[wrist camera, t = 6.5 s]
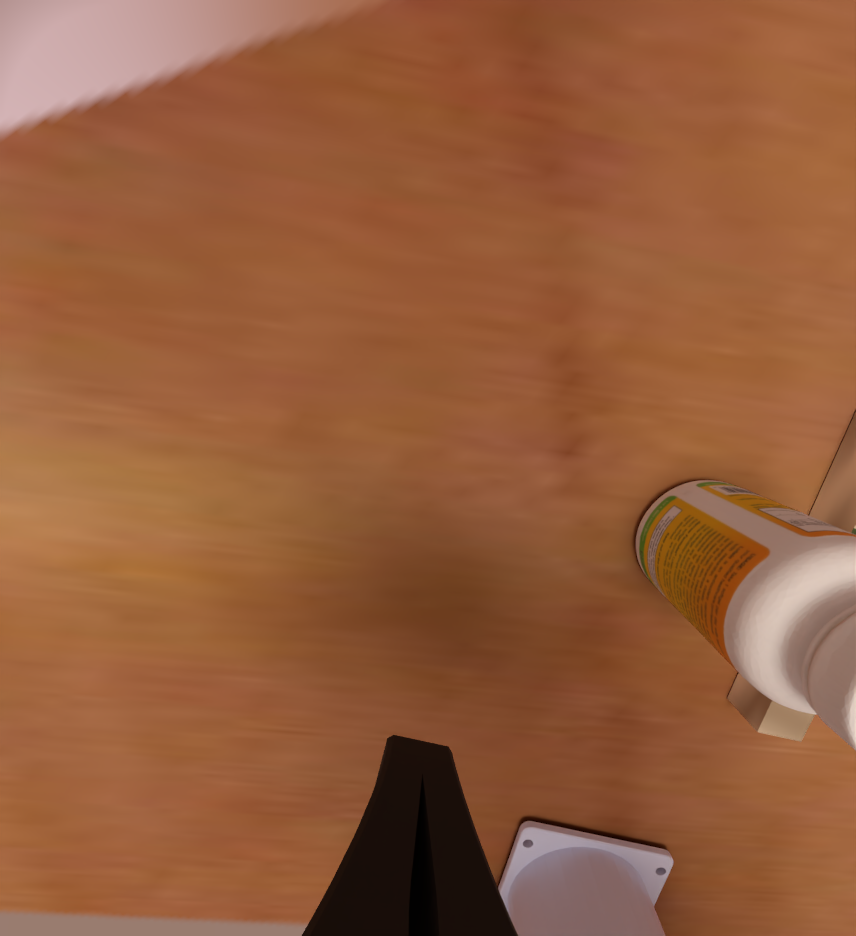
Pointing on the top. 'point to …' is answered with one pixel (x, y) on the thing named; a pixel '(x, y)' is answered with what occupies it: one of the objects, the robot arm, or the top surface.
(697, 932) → the top surface
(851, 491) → the stop rail
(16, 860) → the top surface
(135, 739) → the top surface
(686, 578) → the supplement bottle
